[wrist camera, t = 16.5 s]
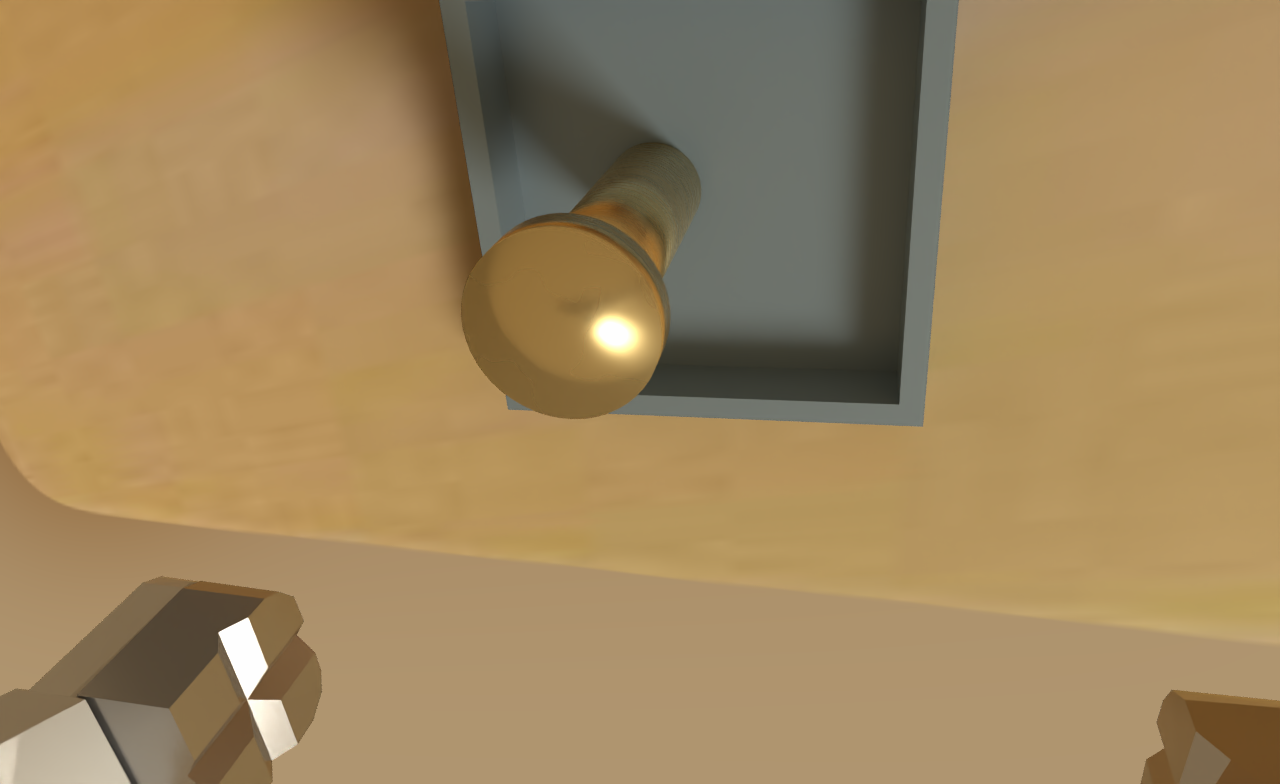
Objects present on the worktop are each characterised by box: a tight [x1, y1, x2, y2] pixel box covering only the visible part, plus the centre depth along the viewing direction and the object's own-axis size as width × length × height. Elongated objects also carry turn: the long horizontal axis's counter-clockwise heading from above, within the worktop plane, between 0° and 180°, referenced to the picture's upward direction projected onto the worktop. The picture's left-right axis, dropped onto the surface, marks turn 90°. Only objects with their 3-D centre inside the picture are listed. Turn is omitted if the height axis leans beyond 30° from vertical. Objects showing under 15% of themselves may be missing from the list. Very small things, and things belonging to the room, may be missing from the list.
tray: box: [439, 0, 959, 426], centre depth 29 cm, size 15×15×3 cm
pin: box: [461, 142, 701, 419], centre depth 26 cm, size 5×5×11 cm
